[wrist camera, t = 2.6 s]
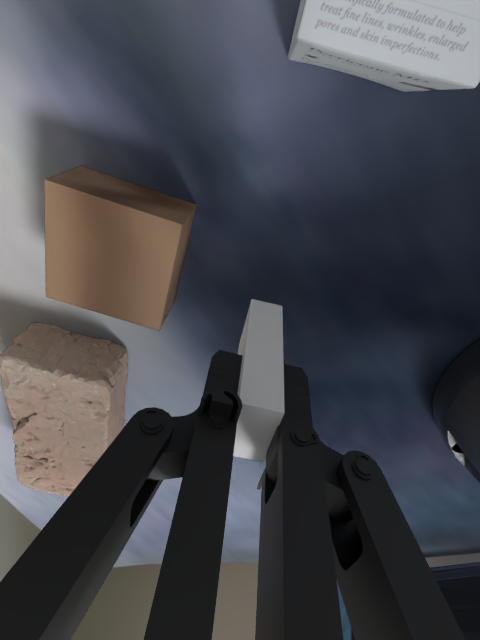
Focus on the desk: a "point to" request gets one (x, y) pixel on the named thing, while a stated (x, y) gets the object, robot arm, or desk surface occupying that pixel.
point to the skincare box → (393, 41)
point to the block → (114, 245)
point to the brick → (62, 404)
